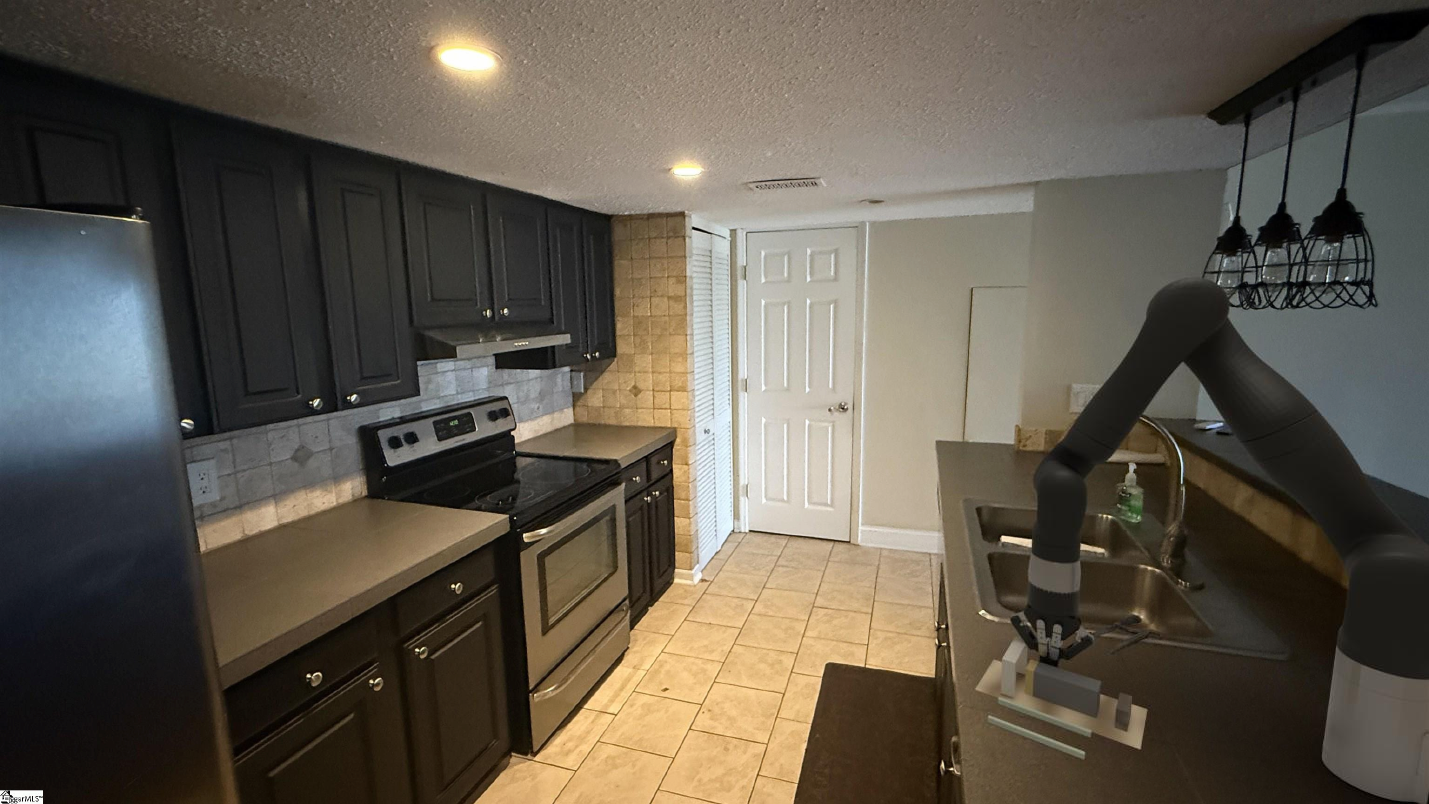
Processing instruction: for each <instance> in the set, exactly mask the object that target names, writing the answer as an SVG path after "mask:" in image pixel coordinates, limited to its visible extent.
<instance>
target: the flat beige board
mask: <svg viewBox="0 0 1429 804" xmlns="http://www.w3.org/2000/svg"><path fill="white" fill-rule="evenodd" d="M1001 673H1002V661H1000V660H996V659H993V660H992V661H991V663H990V665H989V666H988V668H987V669H986V671H985V673H984V674H983V676H982V678H981V679H980V681H979V683H978V684H977V686H976V688H975V691H977V692H981V693H983V694H986V695H989V696H991V697H994V698H997V699H998V698H999V697H1000V698H1003V699H1006V700H1009V701H1011V702H1014V703H1017V704H1020V705H1023V706H1025V707H1028V708H1031V709H1034V710H1036V711H1039V712H1042V713H1045V714H1047V715H1050V716H1053V717H1056V718H1059V719H1061V720H1064V721H1067V722H1070V723H1072V724H1075V725H1078V726H1081V727H1084V728H1086V729H1089V730H1091V733H1092V734H1093V733H1094V734H1097V735H1099V736H1101V737H1104V738H1107V739H1110V740H1113V741H1116V742H1118V743H1121V744H1124V745H1126V746H1130V747H1132V748H1135V749H1138V750H1141V749H1142V742H1143V737H1144V730H1145V725H1146V720H1147V714H1148V709H1147V708H1144V707H1143V706H1142V707H1141V706H1138V705H1135V704H1132V703H1133V696H1132V695H1129V694H1125V693H1123V692H1119V695H1118V698H1114V697H1111V696H1107V695H1104V694H1102V693H1100V706H1099V710H1098V714H1097V717H1096V718H1094V717H1091V716H1088V715H1085V714H1082V713H1079V712H1077V711H1074V710H1071V709H1068V708H1065V707H1062V706H1059V705H1056V704H1054V703H1051V702H1048V701H1045V700H1042V699H1039V698H1036V697H1033V696H1031V695H1028V694H1025V675H1026V674H1022V673H1019V672H1016V688H1015V696H1014V698H1013V697H1010V696H1008V695H1005V694H1002V693H1001Z"/></svg>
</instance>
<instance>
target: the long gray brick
mask: <svg viewBox="0 0 1429 804" xmlns="http://www.w3.org/2000/svg"><path fill="white" fill-rule="evenodd" d="M1101 688H1102V681H1101V680H1097V679H1094V678H1091V677H1089V676H1085V675H1082V674H1079V673H1075V672H1072V671H1069V670H1066V669H1063V668H1061V667H1059V668H1057V667H1054V666H1051V665H1047V664H1044V663H1041V662H1039V660H1038V661H1037V660H1034V659H1030V660H1029V661H1028V663H1027V667H1026V675H1025V694H1028V695H1031V696H1033V697H1036V698H1039V699H1042V700H1045V701H1048V702H1051V703H1054V704H1056V705H1059V706H1062V707H1065V708H1068V709H1071V710H1074V711H1077V712H1079V713H1082V714H1085V715H1088V716H1091V717H1094V718H1096V717H1097V714H1098V710H1099V706H1100V694H1101V691H1102V689H1101Z"/></svg>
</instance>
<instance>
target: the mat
mask: <svg viewBox="0 0 1429 804" xmlns="http://www.w3.org/2000/svg"><path fill="white" fill-rule="evenodd" d="M997 704H998V705H1001V706H1002V707H1005V708H1009V709H1011V710H1014V711H1017V712H1019V713H1023V714H1025V715H1028V716H1031V717H1033V718H1037V719H1038V720H1041V721H1044V722H1047V723H1049V724H1053V725H1055V726H1057V727H1061V728H1063V729H1066V730H1069V731H1070V732H1071V731H1072V732H1074V733H1076V734H1079V735H1081V736H1085V737H1087V738H1091V736H1092V732H1091V730H1089V729H1086V728H1084V727H1081V726H1078V725H1075V724H1072V723H1070V722H1067V721H1064V720H1061V719H1059V718H1056V717H1053V716H1050V715H1047V714H1045V713H1042V712H1039V711H1036V710H1034V709H1031V708H1028V707H1025V706H1023V705H1020V704H1017V703H1014V702H1011V701H1009V700H1006V699H1003V698H1000V697H999V698H997ZM987 723H989V724H991V725H994V726H996V727H999V728H1002V729H1004V730H1007V731H1009V732H1011V733H1014V734H1017V735H1020V736H1022V737H1025V738H1027V739H1030V740H1033V741H1034V742H1037V743H1041V744H1042V745H1045V746H1046V747H1047V746H1048V747H1049V748H1052V749H1055V750H1058V751H1061V752H1063V753H1065V754H1068V755H1071V756H1073V757H1075V758H1079V759H1080V760H1085V757H1086V752H1085V751H1083V750H1081V749H1078V748H1075V747H1074V746H1070V745H1068V744H1065V743H1062V742H1059V741H1058V740H1057V741H1056V740H1055V739H1053V738H1050V737H1047V736H1045V735H1041V734H1039V733H1037V732H1034V731H1031V730H1029V729H1026V728H1023V727H1021V726H1018V725H1015V724H1013V723H1011V722H1007V721H1005V720H1002V719H1000V718H997V717H994V716H993V715H988V716H987Z"/></svg>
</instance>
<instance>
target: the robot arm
mask: <svg viewBox="0 0 1429 804" xmlns="http://www.w3.org/2000/svg"><path fill="white" fill-rule="evenodd" d="M1147 305H1148V306H1147V308H1146V314H1145V319H1144V322H1143V324H1142V326H1141V328H1140V330H1139V333H1138V334H1137V337H1136V339H1135V340H1134V342H1133V343H1132V345H1131V347H1130V348H1129V350H1128V352H1127V353H1126V355H1125V356H1124V357H1123V359H1122V361H1121V362H1120V363H1119V364H1118V365H1117V367H1116V369H1114V371H1113V372H1112V373H1111V375H1109V377H1108V378H1107V379H1106V381H1105V382H1103V384H1102V385H1101V387H1100V388H1099V389H1098V390H1097V391H1096V393H1095V394H1094V395H1093V396H1092V398H1091V399H1090V400H1089V401H1088V402H1087V404H1086V405H1085V407H1084V408H1083V409H1082V411H1081V412H1080V414H1079V415H1078V416H1077V418H1076V419H1075V421H1074V422H1073V424H1072V425H1071V427H1070V428H1069V429H1068V431H1067V433H1066V434H1065V436H1064V437H1063V438H1062V439H1061V440H1060V441H1059V442H1058V443H1056V445H1055V446H1054V447H1053V448H1052V449H1051V450H1050V451H1049V452H1048V453H1047V454H1046V455H1045V457H1044V458H1043V459H1042V460H1041V462H1040V463H1039V464H1038V466H1037V468H1036V469H1035V471H1034V472H1033V473H1034V474H1033V476H1032V484H1033V487H1034V490H1035V492H1036V501H1037V502H1036V503H1037V504H1036V508H1037V509H1036V520H1035V522H1034V524H1033V527H1032V532H1031V534H1032V535H1031V552H1030V553H1031V554H1030V559H1029V562H1028V570H1027V577H1028V579H1027V580H1028V581H1027V601H1026V605H1025V607H1024V608H1023V611H1022V610H1021V612H1018V611H1015V612H1013V613H1012V615H1011V616H1010V619H1009V621H1010V624H1011V625H1012V626H1013V627H1014V630H1016V632H1017V633H1018V635H1019V637H1021V638H1022V639H1023V641H1024V642H1025V644H1026V645H1027V646H1028V650H1030V651H1036V652H1037V653H1038V654H1039V657H1038V659H1039V660H1038V662H1041V663H1044V664H1047V665H1051V666H1054V667H1057V668H1060V662H1061V660H1064V661H1070V660H1071V659H1073V658H1075V657H1076V656H1077V655H1079V654H1080V653H1081V652H1083V651H1085V650H1086V649H1088V648H1089V647H1090V646H1092V645H1093V643H1094V640H1095V639H1096V638H1095V635H1094V633H1093V632H1092V631H1088V630H1086V629H1085V628H1084V627H1083V626H1082V620H1081V618H1080V616H1079V607H1080V594H1081V593H1080V592H1081V576H1082V572H1081V569H1082V568H1081V546H1082V545H1081V544H1082V536H1081V535H1082V529H1083V526H1084V522H1085V517H1086V511H1087V506H1088V497H1089V496H1088V487H1087V484H1086V481H1085V479H1086V478H1087V477H1088V476H1089V474H1090V473H1091V472H1092V471H1093V470H1094V468H1095V467H1096V466H1097V465H1098V464H1103V463H1105V462H1107V461H1108V460H1110V459H1111V458H1112V457H1113V455H1114V454H1115V453H1116V452H1117V450H1118V449H1119V447H1120V446H1121V445H1122V443H1123V442H1124V440H1126V438H1127V437H1128V435H1129V434H1130V433H1131V432H1132V430H1133V429H1134V427H1136V425H1137V423H1138V422H1139V420H1140V419H1141V417H1142V415H1143V414H1144V412H1145V411H1146V410H1147V408H1148V407H1149V405H1150V404H1151V403H1152V401H1153V400H1154V398H1156V395H1157V394H1158V393H1159V391H1160V390H1161V388H1162V387H1163V386H1164V384H1165V383H1166V381H1168V379H1169V378H1170V377H1171V376H1172V374H1173V373H1174V372H1175V371H1176V370H1177V369H1178V367H1179V366H1180V365H1181V364H1182V363H1184V365H1185V366H1186V367H1187V368H1188V369H1189V370H1190V371H1191V372H1192V374H1194V376H1195V377H1196V378H1197V379H1198V381H1199V382H1200V383H1201V385H1202V387H1203V388H1204V390H1205V391H1206V393H1207V395H1208V397H1209V398H1210V400H1211V402H1212V403H1213V405H1214V407H1215V408H1216V410H1217V411H1218V414H1220V416H1221V418H1222V419H1223V420H1224V422H1225V423H1226V424H1227V426H1228V427H1229V428H1230V430H1231V431H1232V433H1233V434H1234V436H1235V438H1236V439H1237V440H1238V441H1239V443H1240V445H1242V447H1244V449H1245V451H1246V452H1247V453H1248V454H1249V455H1250V456H1251V458H1252V459H1253V461H1254V462H1255V463H1256V464H1257V465H1258V466H1259V467H1260V469H1261V470H1262V471H1263V472H1264V473H1265V474H1266V475H1267V476H1268V477H1269V478H1270V479H1271V480H1272V481H1273V482H1274V483H1276V484H1277V486H1278V487H1280V489H1282V490H1283V491H1284V492H1285V493H1286V494H1287V495H1289V496H1290V497H1291V498H1292V499H1293V500H1295V502H1297V503H1298V505H1300V506H1302V508H1303V509H1304V510H1305V511H1306V512H1307V513H1308V514H1309V515H1310V516H1311V517H1312V518H1313V520H1314V521H1315V522H1316V524H1317V526H1319V528H1320V529H1321V531H1322V532H1323V533H1324V535H1325V537H1326V538H1327V540H1328V541H1329V544H1330V545H1331V546H1332V547H1333V549H1334V551H1335V552H1336V554H1337V556H1338V558H1339V560H1340V562H1341V563H1342V565H1343V567H1344V570H1345V572H1346V576H1347V578H1348V586H1347V587H1348V588H1347V594H1346V595H1347V596H1346V601H1345V602H1346V603H1345V608H1344V609H1345V610H1344V615H1343V622H1342V625H1341V626H1340V628H1339V629H1338V633H1337V640H1336V648H1335V656H1334V663H1333V668H1332V678H1331V684H1330V694H1329V701H1328V707H1327V716H1326V723H1325V729H1324V738H1323V742H1322V754H1321V759H1322V762H1323V764H1324V765H1325V767H1326V768H1327V769H1328V770H1329V771H1330V772H1331V773H1333V775H1335V776H1337V777H1338V778H1340V779H1341V780H1342V781H1344V782H1346V783H1347V784H1348V785H1351V786H1353V787H1355V788H1357V789H1359V790H1361V791H1364V792H1366V793H1368V794H1372V795H1374V796H1375V797H1376V796H1377V797H1380V798H1384V799H1388V800H1391V801H1395V802H1397V801H1399V802H1412V803H1413V802H1414V803H1417V804H1428V799H1429V544H1427V542H1425V541H1424V540H1423V539H1422V538H1421V537H1420V536H1419V535H1418V534H1417V533H1416V532H1415V531H1413V530H1412V529H1411V528H1410V527H1409V526H1408V525H1407V524H1406V523H1405V521H1403V520H1402V519H1401V518H1400V517H1399V516H1398V515H1397V513H1395V512H1394V511H1393V510H1392V508H1390V507H1389V506H1388V505H1387V504H1386V502H1384V500H1383V499H1382V498H1381V497H1380V495H1378V493H1377V491H1375V490H1374V488H1373V487H1372V485H1371V484H1370V482H1369V480H1368V479H1367V477H1366V475H1365V474H1364V472H1363V470H1362V468H1361V466H1360V465H1359V463H1358V461H1357V460H1356V458H1355V457H1354V455H1353V454H1352V453H1351V451H1350V450H1349V448H1348V446H1347V445H1346V443H1345V442H1344V440H1342V438H1341V437H1340V435H1339V434H1338V433H1337V431H1336V430H1335V429H1334V428H1333V426H1331V424H1330V423H1329V422H1328V420H1327V419H1326V418H1325V417H1324V416H1323V414H1321V412H1320V411H1319V410H1318V409H1317V407H1316V406H1315V405H1314V404H1313V403H1312V402H1311V401H1310V400H1309V399H1308V398H1307V397H1306V396H1305V395H1304V394H1303V393H1302V392H1301V391H1300V390H1298V388H1296V387H1295V386H1294V385H1293V384H1292V383H1291V382H1289V381H1288V380H1287V379H1286V378H1285V377H1284V376H1282V375H1281V374H1280V373H1279V372H1277V371H1276V370H1275V369H1274V368H1273V367H1271V366H1270V365H1269V364H1267V363H1266V361H1264V360H1263V359H1261V358H1260V357H1259V356H1258V355H1257V354H1256V353H1255V352H1254V351H1253V350H1252V349H1251V348H1250V346H1249V345H1248V344H1247V343H1246V342H1245V340H1244V338H1243V337H1242V336H1241V335H1240V333H1239V332H1238V331H1237V328H1236V327H1235V326H1234V324H1233V323H1232V322H1231V321H1232V320H1230V317H1229V313H1230V299H1229V297H1228V295H1227V292H1226V291H1225V290H1224V288H1223V287H1222V286H1221V285H1219V284H1218V283H1217V282H1215V281H1214V280H1211V279H1208V278H1204V277H1185V278H1180V279H1177V280H1174V281H1172V282H1170V283H1168V284H1166V285H1164V286H1163V287H1162V288H1160V289H1159V290H1158V291H1157V292H1156V293H1155V294H1154V295H1153V297H1152V298H1151V300H1150V301H1149V303H1148V304H1147ZM1028 623H1029V624H1028ZM1029 625H1030V626H1029ZM1031 628H1032V629H1033V630H1032V629H1031ZM1034 632H1035V633H1036V634H1037V635H1035V633H1034ZM1075 633H1077V634H1076V636H1075V640H1076V641H1075V640H1073V641H1074V642H1073V641H1072V642H1071V643H1070V644H1068V645H1067V646H1066V647H1062V646H1063V642H1064V641H1066V640H1068V639H1070V637H1071V636H1073V635H1074V634H1075ZM1050 639H1051V642H1050Z"/></svg>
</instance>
